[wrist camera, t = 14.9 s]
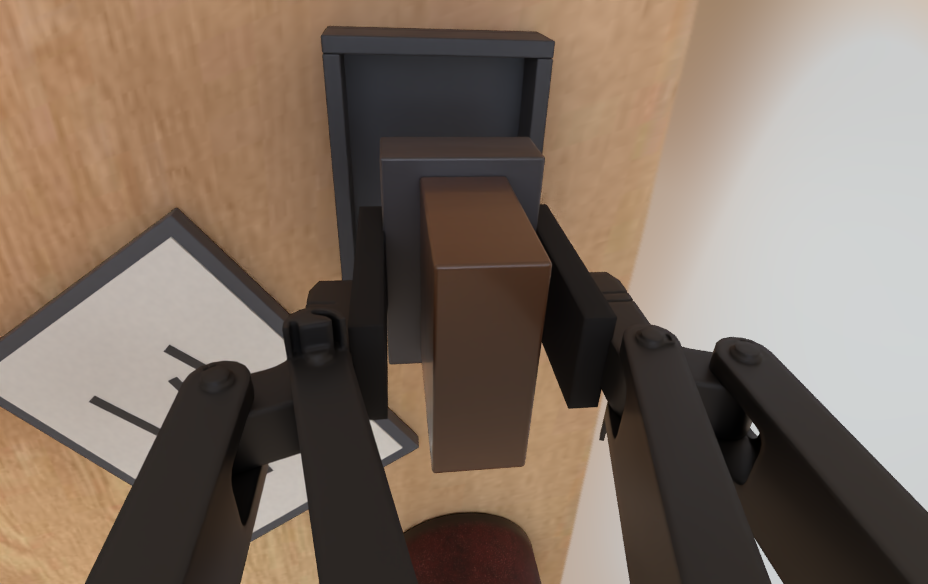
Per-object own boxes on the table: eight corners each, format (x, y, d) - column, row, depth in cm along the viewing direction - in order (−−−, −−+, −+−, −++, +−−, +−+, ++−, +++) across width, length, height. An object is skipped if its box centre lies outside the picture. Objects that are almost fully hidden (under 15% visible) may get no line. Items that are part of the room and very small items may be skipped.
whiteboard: (-37, 365, 27) (-51, 380, 26) (176, 206, 24) (169, 216, 23) (240, 537, 36) (236, 552, 35) (418, 436, 33) (419, 449, 32)
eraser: (379, 136, 16) (377, 244, 10) (529, 136, 17) (609, 239, 11) (388, 330, 20) (390, 490, 14) (511, 324, 20) (562, 477, 15)
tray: (326, 25, 21) (320, 34, 19) (538, 31, 22) (555, 40, 20) (348, 281, 27) (344, 310, 25) (514, 276, 28) (525, 304, 26)
